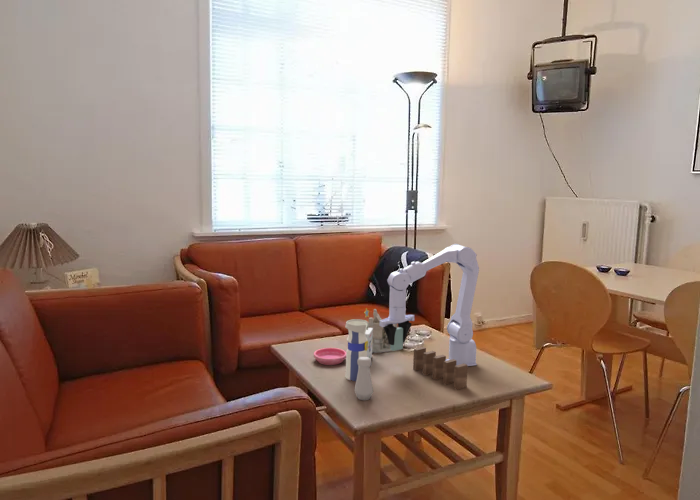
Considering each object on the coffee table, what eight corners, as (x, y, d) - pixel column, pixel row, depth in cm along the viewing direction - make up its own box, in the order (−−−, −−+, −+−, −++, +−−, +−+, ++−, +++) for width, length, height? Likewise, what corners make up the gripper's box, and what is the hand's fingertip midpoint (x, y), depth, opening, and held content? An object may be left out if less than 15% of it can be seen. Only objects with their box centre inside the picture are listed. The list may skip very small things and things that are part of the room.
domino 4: (432, 378, 183) (433, 357, 182) (441, 375, 185) (442, 354, 184) (435, 379, 182) (436, 358, 180) (445, 377, 184) (445, 356, 183)
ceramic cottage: (357, 350, 211) (361, 313, 209) (371, 339, 226) (375, 305, 224) (395, 358, 205) (399, 320, 203) (407, 346, 220) (410, 311, 218)
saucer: (351, 364, 196) (351, 356, 195) (319, 368, 191) (319, 360, 191) (340, 353, 207) (340, 345, 207) (309, 357, 203) (309, 349, 202)
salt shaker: (353, 394, 169) (354, 354, 167) (371, 393, 170) (372, 354, 168) (355, 401, 164) (356, 361, 162) (374, 401, 164) (374, 360, 162)
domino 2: (413, 369, 191) (413, 349, 190) (422, 366, 193) (422, 346, 192) (416, 370, 190) (416, 350, 189) (425, 368, 192) (425, 348, 191)
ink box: (359, 356, 204) (359, 326, 203) (372, 357, 203) (373, 327, 201) (355, 363, 196) (355, 332, 194) (369, 365, 195) (369, 333, 193)
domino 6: (453, 388, 175) (454, 365, 174) (463, 385, 177) (463, 363, 176) (457, 389, 173) (458, 367, 172) (466, 386, 176) (467, 364, 175)
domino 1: (390, 349, 190) (390, 329, 188) (399, 347, 192) (400, 327, 191) (393, 351, 188) (393, 330, 187) (402, 348, 191) (403, 328, 190)
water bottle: (371, 373, 187) (372, 303, 183) (366, 382, 179) (367, 309, 175) (348, 370, 189) (348, 302, 185) (342, 380, 181) (342, 308, 177)
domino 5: (442, 383, 179) (443, 361, 178) (452, 380, 181) (453, 358, 180) (446, 384, 177) (447, 362, 176) (455, 381, 180) (456, 360, 179)
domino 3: (422, 373, 187) (423, 352, 186) (431, 371, 189) (432, 350, 188) (425, 375, 186) (426, 354, 185) (435, 372, 188) (435, 351, 187)
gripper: (405, 300, 195) (405, 336, 197) (374, 306, 187) (373, 343, 189) (418, 304, 189) (417, 341, 191) (386, 310, 181) (386, 349, 183)
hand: (396, 343), depth 190 cm, fingers closed on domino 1, 4 cm apart
